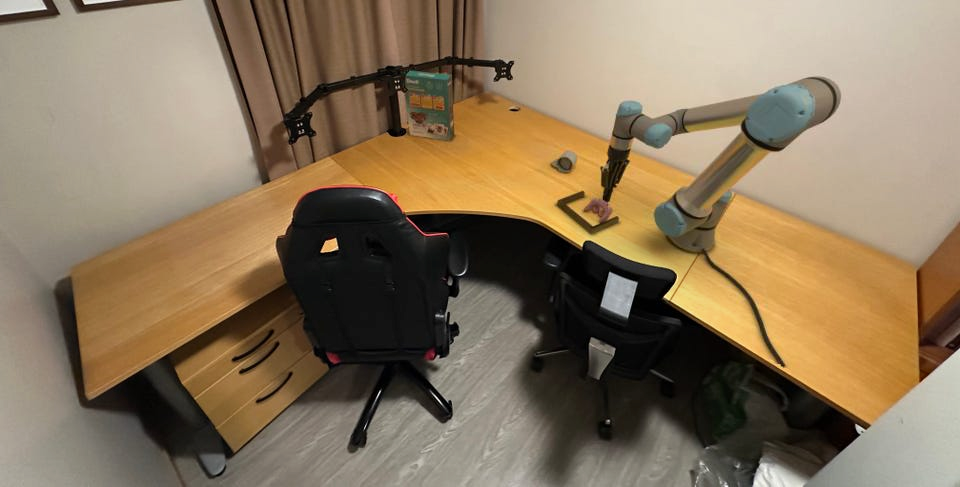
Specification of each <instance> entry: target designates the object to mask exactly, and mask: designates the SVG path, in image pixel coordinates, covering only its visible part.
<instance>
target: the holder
mask: <svg viewBox="0 0 960 487" xmlns="http://www.w3.org/2000/svg"><path fill="white" fill-rule="evenodd" d="M585 193H586V191H584V190H581V191H578V192H575V193H572V194H570V195H567V196H565V197H562V198H560V199H558V200H557V202H556V206H557V207H558V208H559V209H561V210H562V211H563V212H564V213H565V214H566V215H568V216H570V218H571V219H573V220H574V221H575V222H576V223H577V224H579V226H581V227H582V228H584V229H585V230H586V231H587V232H588V233H590V234H591V235H593V234H595V233H597V232H599V231H602V230H605V229H607V228H609V227H611V226H614V225H615V224H618V223H619V220H620V217H619V216H618V215H616V216H614V217H611V218H608V219H606V220H605V221H604V222H600V223H597V224H595V225H592V224H591V223H590V222H589V221H587V220H586V219H585V218H584V217H583V216H581V215H580V214H579V213H578V212H576V211H575V210H573V209H572V208H571V207H570V206H569V205H567V204H569V203H572V202H575V201H577V200H580V199H582V198H584V197H585Z"/></svg>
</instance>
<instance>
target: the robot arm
mask: <svg viewBox="0 0 960 487" xmlns="http://www.w3.org/2000/svg"><path fill="white" fill-rule="evenodd" d="M841 100H842V92H841V90H840V87H839V85H838V84H837V83H836V82H835V81H833V80H832V79H830V78H827V77H825V76H819V75H818V76H808V77H804V78H801V79H798V80H794V81H792V82H789V83H786V84H781V85H779V86H774V87H773V88H770V89H768V90H767V91H766V92H763V93H760V94H754V95H750V96H745V97H740V98H735V99H730V100H724V101H720V102H715V103H709V104H705V105H704V104H703V105H699V106H695V107H694V106H693V107H690V108H687V107H686V108H680V109H676V110H675V111H672V112H670V113H667V114H662V115H659V116H656V117H650V116H648V115H646V114H644V113H643V105H642V103H641V102H638V101H637V100H636V101H635V100H624V101H622V102H620V103H619V105H618V107H617V111H616V114H615V119H614V123H613V129H612V132H611V137H610V140H609V145H608V149H607V152H606V154H607V160H606V162H605V165H604V166H603V165H601V166H600V168H599V169H600V174H601V175H600V187H602V188H603V192H602V198H601V199H602V200H604V201H606V202H607V203H609V202H611V199H612V195H613V192H614V189H616V188H618V185H619V184H620V182H621V181H622V178H623V176H624V174H625V172H626V169H627V167H628V165H629V164H630V162H631V160H630V159H628V158H630V153H631V151H632V147H633V144H634V140H635V139H636V140H638V141H640V142H641V143H643V144H645V145H646V146H649V147H651V148H653V149H656V150H658V149H659V150H660V149H662V148H664V147H665V145H667V144H668V143H669V142H670V140H671V138H672V137H675V136H678V135H683V134H690V133H694V132H696V133H697V132H701V131H710V130H716V129H724V128H731V127H739V126H740V132H739V133H738V134H737V135H736V136H735V137H734V138H733V139H732V140H731V141H730V142H729V144H728V145H726V146H725V148H724V149H723V150H722V151H721V152H720V153H719V154H718V155H717V156H716V157H715V158H714V159H713V160H712V161H711V162H710V163H709V164H708V165H707V166H706V167H705V168H704V169H703V170H702V171H701V173H700V174H699V175H697V176H696V178H695V179H694V180H693V181H692V182H691V183H690V184H689V185H684V186H681V187H680V188H679V189H677V190H676V191H675V193H673V195H672V196H671V197H670V198H669V199H668V200H666V201H664V202H660V203H659V204H658V205H656V207H654V208H655V209H654V210H653V218H654V223H655V225H656V227H657V228H658V229H659V231H660V232H662V233H663V234H664V235H665V236H667V237H668V239H669V241H670V242H671V243H672V244H673V245H674V246H676V247H677V248H678V249H682V250H683V251H686V252H690V253H697V254H698V253H703V255H704V257H705V259H706V260H707V262H708V264H710V266H712V268H714V269H715V270H716V271H718V272H719V273H721V274H722V275H724V276H725V277H727V278H728V279H729V280H730V281H731V282H732V283H733V284H734V285H735V286H737V287H738V288H739V290H741V292H743V295H745V296H746V298H747V299H748V302H750V305H751V307H752V309H753V311H754V313H755V316H756V318H757V321H758V324H759V327H760V330H761V333H762V336H763V338H764V341H765V342H766V345H767V346H768V348H769V350H770V352H771V353H772V354H773V356H774V358H775V359H776V360H777V362H778V364H779V365H780V367H782V368H784V367H787V366H786V364H785V361H783V359H782V357H781V356H780V355H779V353H778V352H777V350H776V349H775V347H774V346H773V344H772V342H771V340H770V338H769V336H768V333H767V330H766V327H765V324H764V321H763V318H762V317H761V314H760V312H759V309H758V306H757V304H756V302H755V301H754V298H753V297H752V296H751V295H750V294H749V292H748V291H747V290H746V288H745V287H744V286H743V285H742V284H740V282H738V281H737V279H735V278H734V277H732V275H730V273H728V272H727V271H725V270H724V269H722V268H720V267H719V266H718V265H716V264H715V262H713V260H712V259H711V257H710V255H709V254H708V253H707V252H709V251H710V250H711V249H712V247H713V246H714V243H715V238H716V228H717V226H718V224H719V223H720V220H721V218H722V217H723V215H724V213H725V211H726V210H727V208H728V206H729V204H730V202H731V199H732V197H733V192H732V190H731V188H733V187H734V186H735V185H736V184H737V183H738V182H739V181H740V180H741V179H743V177H745V176H746V175H747V174H748V173H749V172H750V171H752V169H754V168H755V167H756V166H757V165H759V163H760V162H762V161H763V160H764V159H765V158H766V157H767V156H768V155H769V154H771V153H780V152H782V151H784V150H785V149H786V148H787V147H788V146H789V145H790V144H791V143H793V142H794V141H795V140H796V139H797V138H798V137H800V135H802V134H803V133H805V131H808V130H809V129H811V128H814V127H816V126H818V125H820V124H823V123H825V122H826V121H827V120H829V119H830V118H831V117H832V116H833V115H834V114H835V113H836V112H837V111H838V109H839V107H840V105H841Z"/></svg>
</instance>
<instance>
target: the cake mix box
mask: <svg viewBox="0 0 960 487" xmlns="http://www.w3.org/2000/svg"><path fill="white" fill-rule="evenodd" d="M405 86H406V88H407V89H408V91H407V92H406V93H405V92H404V98H405V106H406V107H405V108H406V112H407V121H408V130H409V136H415V137H422V138H427V139H428V138H429V139H435V140H441V141H449V142H451V141H452V140H453V138H454V136H455V119H454V117H455V116H454V99H453V98H454V96H453V95H454V94H453V75H452V74H444V73H435V72H426V71H417V70H409V72H408V73H407V74H406V77H405Z"/></svg>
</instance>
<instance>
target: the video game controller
mask: <svg viewBox="0 0 960 487" xmlns="http://www.w3.org/2000/svg"><path fill="white" fill-rule="evenodd" d="M591 209H592V212H594V213H598V216H599V217H600V219H599V220H600V221H599V222H600V223H602V222H604V221H607V220H608V219H609V217H610V216H611V215H612V214H613V212H614V211H613V208H612V206H611V204H610V203H609V202H606V201H604V200H602V198H599V197H598V198H597V197H596V198H593V199H591V200H590V201H589V202H588V204H587V205H586V206H585V207H584V212H588V211H590V210H591Z"/></svg>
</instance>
